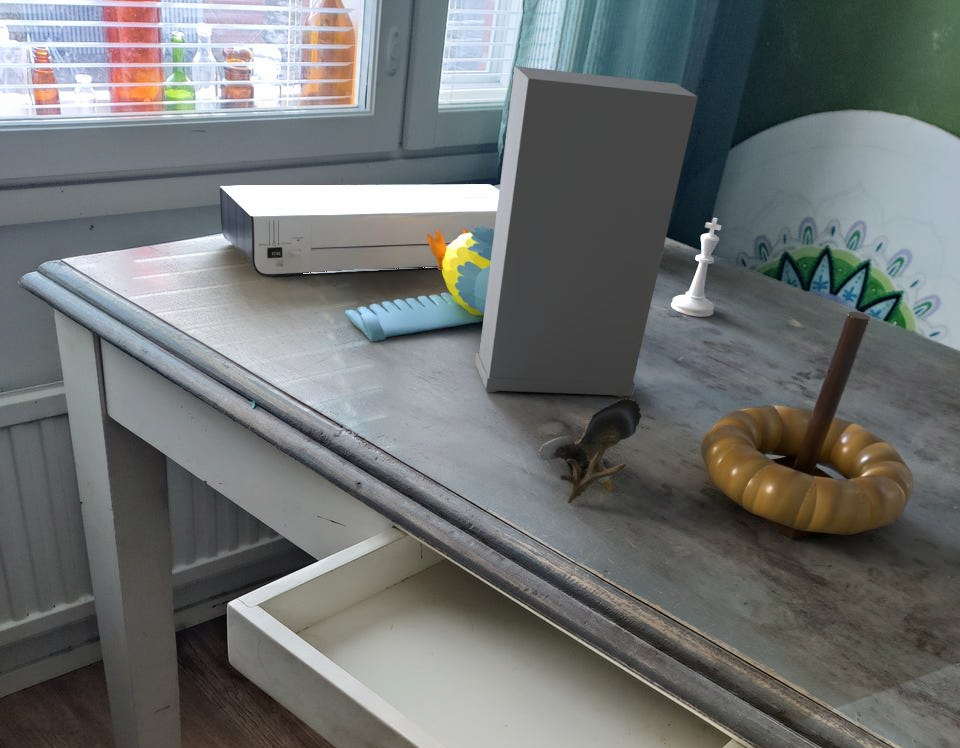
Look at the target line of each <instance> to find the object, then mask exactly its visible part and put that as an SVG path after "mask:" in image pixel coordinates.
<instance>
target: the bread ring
mask: <svg viewBox="0 0 960 748" xmlns="http://www.w3.org/2000/svg"><path fill="white" fill-rule="evenodd" d="M813 410H814V409H810V408H802V407H793V406H785V405H774V404H767V405H766V404H764V405H759V406H753V407H746V408H740V409H734V410H731V411H729V412H727V413H725V414H724V415H723V416H722V417H721V418H720V419H719V420H718V421H717V422H716V423H715V424H713V426H712V427H711V428H710V429H709V430H708V431H707V432H706V433H705V435H704V437H703V438H702V441H701V445H700V456H701V459H702V461H703V464H704V466H705V469H706V472H707V474H708V478H709V480H710V481H711V483H712V485H713V486H714V487H715V488H716V489H717V490H718V491H719V492H721V493H723V494H724V495H725V496H727V497H728V498H729V499H730V500H732V501H733V502H734V503H736V504H737V505H738V506H739V507H741V508H742V509H744V510H745V511H747V512H748V513H751V514H752V515H754V516H759V517H761V518H762V517H763V518H766V519H769V520H772V521H774V522H777V523H780V524H783V525H785V526H788V527H791V528H794V529H797V530H802V531H812V532H818V533H821V534H832V535H841V536H851V535H856V534H860V533H863V532H868V531H871V530H875V529H878V528H879V529H880V528H882V527H883V528H884V527H886V526H888V525H891V524H893V523H894V522H896V520H898V519H899V518H900V516H901V515H902V514H903V512H904V510H905V508H906V506H907V504H908V501H909V500H910V497H911V495H912V493H913V490H914V485H915V481H914V476H913V473H912V471H911V470H910V468H909V466H908V465H907V464H906V462H905V461H904V460H903V458H902V456H900V454H899V452H898V451H897V450H896V448H895V447H894V446H893V445H892V444H891V443H889V442H887V441H886V440H885V439H882V438H880V437H879V436H877V435H876V434H874V433H873V432H871V431H869V430H867V429H866V428H864V427H862V426H861V425H859V424H857V423H854V422H852V421H850V420H845V419H843V418H840V417H836V416H834V419H833V421H832V424H831V427H830V430H829V432H828V435H827V438H826V440H825V443H824V446H823V449H822V451H821V454H820V457H819V459H818V462H817V465H818V466H821V467H824V468H826V469H830V470H831V471H833V472H834V473H836V474H838V475H839V476H841V477H842V478H843V479H842V478H835V477H833V478H825V477H816V476H811V475H808V474H806V473H803V472H800V471H797V470H794V469H791V468H788V467H785V466H782V465H779V464H777V463H776V462H774V461H773V460H771V458H770V457H768V456H767V455H769V456H778V457H795V458H797V455H798V453H799V450H800V447H801V444H802V441H803V438H804V436H805V433H806V430H807V427H808V424H809V421H810V419H811V416H812V413H813ZM763 518H762V519H763Z"/></svg>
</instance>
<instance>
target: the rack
mask: <svg viewBox="0 0 960 748" xmlns="http://www.w3.org/2000/svg"><path fill="white" fill-rule="evenodd" d="M870 321H871V316H869V315H868V314H865V313H864V312H860V311H849V312H847V314H846V317H845V319H844V322H843V325H842V328H841V331H840V334H839V336H838V340H837V341H836V345H835V348H834V350H833V353H832V356H831V359H830V362H829V365H828V368H827V371H826V374H825V376H824V379H823V382H822V384H821V388H820V390H819V393H818V396H817V400H816V402H815V405H814V408H813V409H812V410H813V413H812V416H811V419H810V421H809V424H808V427H807V430H806V433H805V436H804V438H803V441H802V444H801V447H800V450H799V453H798V455H797V458H795V457H786V456H780V457H777V458H772V459H771V458H770V459H771V460H773V461H774V462H776V463H777V464H779V465H782V466H785V467H788V468H791V469H794V470H797V471H800V472H803V473H806V474H808V475H811V476H816V477H825V478H834V477H833V476H832V475H830V474H828V473H827V472H825V471H824V470H822V469H821V468H820V467H818V466H817V465H818V464H817V462H818V459H819V457H820V454H821V451H822V449H823V446H824V443H825V440H826V438H827V435H828V432H829V430H830V427H831V424H832V421H833V419H834V417H836V413H837V411H838V407H839V406H840V403H841V400H842V397H843V394H844V391H845V390H846V389H845V388H846V386H847V383H848V381H849V379H850V375H851V372H852V370H853V368H854V364H855V362H856V359H857V356H858V354H859V351H860V348H861V346H862V343H863V340H864V337H865V334H866V332H867V329H868V326H869V324H870ZM761 518H762V519H763V520H764V521H766V522H767V523H768V524H770V525H771V526H773V527H774V528H775V529H776V530H778V531H779V532H781V533H782V534H784V535H785V536H786V537H788V538H789V539H790V540H794V539H799V538H802V537H806V536H810V535H814V534H817V533H819V532H812V531H802V530H797V529H794V528H791V527H788V526H785V525H783V524H780V523H777V522H774V521H772V520H769V519H766V518H763V517H761Z"/></svg>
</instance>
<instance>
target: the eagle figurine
mask: <svg viewBox="0 0 960 748" xmlns="http://www.w3.org/2000/svg"><path fill="white" fill-rule="evenodd" d="M641 411H642V409H641V407H640V403H638V402H637V400H636V399H633V398H629V397H628V398H625V397H623V398H620V399H619V400H616V401H614V402H613V403H610V404H609V405H607V406H605V407H603V408H601V409H600V410H598V411H596V412H595V413H593V414H592V416H591V417H590V418H589V420H588V423H587V426H586V427H585V430H584V432H583V434H582V436H581V438H580V439H578V440H576V441H574V439H573V438H572V437H571V436H570V435H564V436H560V437H556V438H554V439H551V440H549V441H547V442H545V443H543V444H542V445H541V447H540V448H539V449H538V453H539V458H540V460H543V461H551V460H556V459H563V460H564V461H565V463H566V464H567V467H568V474H569V475H568V474H561V475H559V479H560V480H561V481H567V482H568V483H570V484H571V487H570V492H569V495H568V497H567V500H566V503H567V504H572V502H573V501H574V500H575V499H576V498H577V497H580V496H581V495H582V493H585V491H586V489H587V488H589V486H590V485H592V484H593V483H594V482H595V481H598V482H599V483H600V484H602V485H604V486H605V487H606V488H607V489H608V490H609V491H610V492H611V491H612V490H613V488H612V484H611V481H612V476H615V475H618V474H620V473H621V472H622V471H623V470H624V469H625V468H626V467H627V466H628V465H627V463H626V462H623V463H620V464H618V465H616V466H613V467H610V468H606V466H605V465H604V462H607V461H608V458H606V457H605V458H604V455H605V453H606V451H607V450H608V449H609V448H612V447H615V446H617V445H618V444H619V443H620V442H621V441H623V440H626V439H628V438H630V437H632V436H633V435H634V434H635V433H637V432H636V431H637V428H638V426H639V424H640V422H641V419H642V417H643V416H642V414H641Z"/></svg>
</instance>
